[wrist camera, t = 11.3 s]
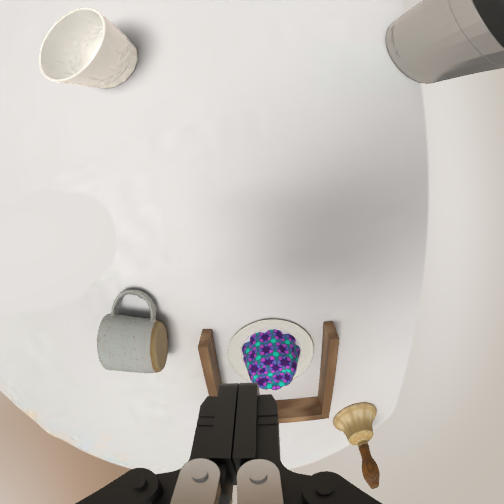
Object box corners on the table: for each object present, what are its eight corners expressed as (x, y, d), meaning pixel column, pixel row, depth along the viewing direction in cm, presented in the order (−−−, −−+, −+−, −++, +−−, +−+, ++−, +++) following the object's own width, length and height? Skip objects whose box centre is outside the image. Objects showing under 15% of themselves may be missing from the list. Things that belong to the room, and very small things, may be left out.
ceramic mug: (173, 352, 41) (160, 388, 34) (122, 347, 41) (103, 379, 34) (163, 287, 37) (145, 317, 30) (108, 284, 37) (82, 311, 30)
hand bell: (323, 424, 47) (337, 497, 32) (355, 397, 44) (379, 473, 29) (354, 432, 48) (372, 498, 33) (384, 408, 46) (410, 475, 31)
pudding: (241, 386, 43) (240, 411, 39) (216, 326, 40) (212, 350, 35) (318, 371, 42) (324, 395, 37) (305, 306, 38) (311, 329, 33)
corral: (332, 321, 39) (339, 338, 35) (324, 400, 44) (328, 418, 40) (202, 329, 39) (197, 347, 36) (219, 406, 45) (216, 424, 41)
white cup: (146, 30, 26) (112, -1, 17) (139, 90, 29) (98, 74, 19) (90, 40, 26) (46, 19, 17) (83, 96, 29) (33, 88, 19)
